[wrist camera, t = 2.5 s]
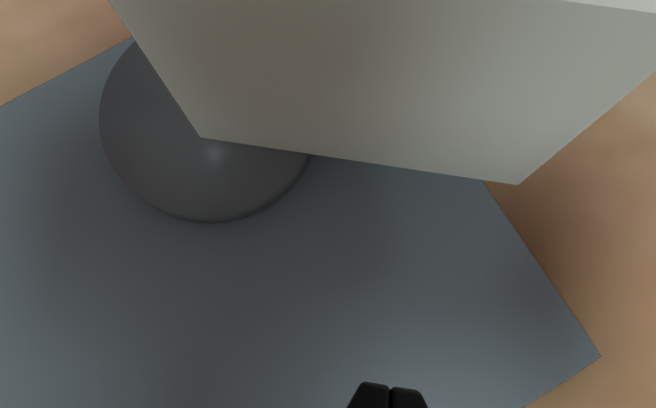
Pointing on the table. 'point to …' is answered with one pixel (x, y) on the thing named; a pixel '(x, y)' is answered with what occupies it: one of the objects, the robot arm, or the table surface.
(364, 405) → the robot arm
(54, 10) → the table surface
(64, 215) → the dial plate
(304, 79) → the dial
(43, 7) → the table surface
